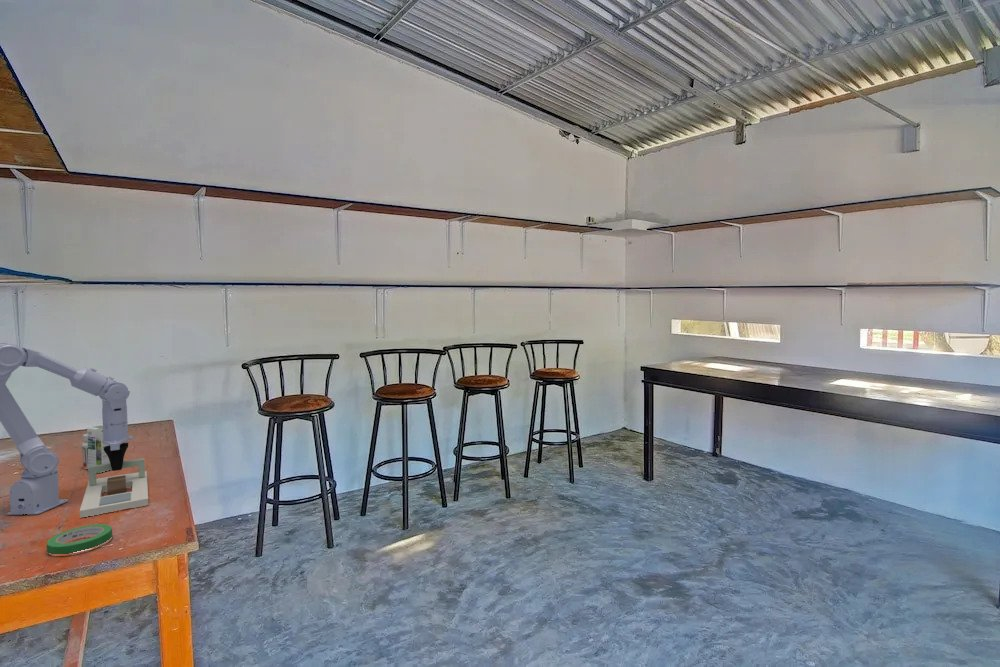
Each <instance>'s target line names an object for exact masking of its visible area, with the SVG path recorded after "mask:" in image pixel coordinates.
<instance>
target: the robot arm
mask: <svg viewBox="0 0 1000 667" xmlns="http://www.w3.org/2000/svg"><path fill="white" fill-rule="evenodd" d="M20 367H25V368H27V367H28V368H39V369H43V370H44V371H47V372H50V373H53V374H55V375H57V376H60V377H63V378H65V379H68V380H69V381H70V385H71V386H72V387H73V388H75V389H78V390H81V391H82V392H83V391H84V392H85V393H88V394H91V395H93V396H94V397H99V398H100V399H101V402H102V409H101V411H102V418H101V419H102V425H103V443H104V444H107V445H110V446H105V447H104V451H105V453H106V454H107V456H108V458H109V461H110V464H111V468H112V470H111V471H112V472H115V471H121V470H122V469H123V468H122V466H123V461H124V458H125V454H126V452H127V450H128V447H129V442H128V441H131V440H134V435H129V427H128V423H129V422H128V406H127V399H128V397H129V396H130V390H129V388H128V387H127V385H126V384H125V383H121V382H118V381H116V380H114V379H115V378H114V377H112V376H105V375H103V374H102V373H101V374H100V373H98V372H97V369H96V368H93V367H90V368H87V367H83V368H79V369H78V368H74V367H73V366H70V365H68V364H66V363H64V362H62V361H60V360H58V359H55V358H53V357H51V356H49V355H47V354H44V353H42V352H40V351H38V350H37V351H36V350H33V349H29V348H27V347H21V346H20V345H18V344H14V343H8V342H0V424H1V425H2V426H3V428H4V429H5V432H6V433H7V434H8V436H9V437H10V439H11V441H12V442H13V444H14V445H15V447H16V450H17V451H18V453H19V457H20V458H19V463H20V465H21V466H22V467H23V468H24V470H23V471H22V472H21V474H20V478H19V479H18V480H17V481H16V482H14V483H13V484H12V485H11V486H10V488H9V504H10V505H9V506H10V508H9V509H10V511H8V512H7V513H6V514H7V515H8V516H9V515H10V516H14V515H15V516H17V515H18V516H19V515H20V516H21V515H23V514H24V515H25V514H27V515H40V514H42V513H45V512H47V511H49V510H51V509H53V508H56V507H59V506H60V505H62V504H64V503H65V504H66V503H68V502H69V499H65V498H64V499H63V498H62V499H60V487H59V484H60V482H59V468H58V466H59V462H60V460H59V456H58V455H57V454H56V453H55V452H53V451H51V450H50V449H49V448H48V447H47V446H46V445H45V443H44V442H43V441H42V439H41V438H40V437H39V436H38V434H37V432H36V431H35V429H34V427H33V426H32V424H31V423H30V421H29V420H28V418H27V416H26V414H25V413H24V412H23V410H22V409H21V407H20V405H19V403H18V402H17V400H16V399H15V398H14V396H13V394H12V393H11V390H9V388H8V386H7V385H6V383H7V381H8V380H9V378H10V377H11V375H12V373H14V371H15V370H17V369H18V368H20Z"/></svg>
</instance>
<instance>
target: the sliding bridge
mask: <svg viewBox="0 0 1000 667" xmlns="http://www.w3.org/2000/svg"><path fill="white" fill-rule="evenodd" d="M133 467H134V468H135V467H138V471H137V472H139V478H140V477H145V471H146V470H145V457H144V458H143V457H142V458H135V459H131V460H129V459H128V460H123V466H122V469H126V468H133ZM88 470H89V472H88V482H89V485H96V479H97V473H96V472H101V471H107V472H109V471H108V470H110V471H113V470H112V468H111V464H110V463H107V464H100V465H93V466H89V467H88ZM88 470H87V471H88Z"/></svg>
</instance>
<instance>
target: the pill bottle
mask: <svg viewBox="0 0 1000 667" xmlns="http://www.w3.org/2000/svg"><path fill="white" fill-rule="evenodd" d="M82 441H83V443H82V445H81V451H82V452H81V454H82V465H83V469H84V470H86V469H88V440H87V433H85V434H83V435H82Z"/></svg>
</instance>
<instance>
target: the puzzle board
mask: <svg viewBox="0 0 1000 667" xmlns="http://www.w3.org/2000/svg"><path fill="white" fill-rule="evenodd" d="M147 473H148V471H147V470H145V477H140V478H139V471H137V472H131V473H130V472H129V473H125V474H118V475H111V476H106V477H99V478H96V485H89V481H88V482H87V485H86V488H85V492H84V495H83V499H82V502H81V505H80V509H79V519H80V518H81V517H87V518H89V517H88V516H93V517H95V516H94V515H98V516H100V515H99V514H103V513H108V512H113V511H117V510H122V509H127V508H133V507H138V506H143V505H148V506H149V491H148V488H149V487H148V474H147ZM124 475H126V488H129V489H131V491H126V493H120V494H114V495H108V494H107V495H104V496H103V494H104V492H105V493H108V490H107V480H108V478H111V477H117V476H124ZM130 487H132V488H130ZM103 515H104V514H103Z"/></svg>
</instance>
